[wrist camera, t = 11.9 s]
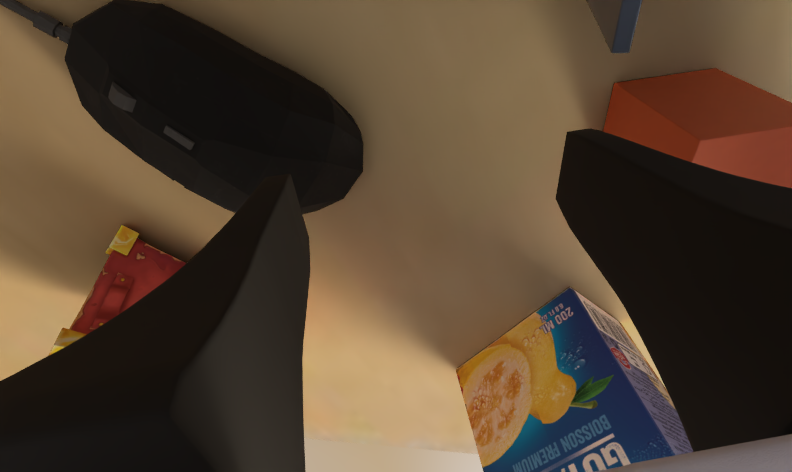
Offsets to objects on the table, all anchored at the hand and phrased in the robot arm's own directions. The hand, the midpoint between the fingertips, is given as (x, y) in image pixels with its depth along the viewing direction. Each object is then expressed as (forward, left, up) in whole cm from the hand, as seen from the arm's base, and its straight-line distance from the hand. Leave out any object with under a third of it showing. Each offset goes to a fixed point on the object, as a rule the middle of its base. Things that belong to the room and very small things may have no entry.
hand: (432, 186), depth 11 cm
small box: (-13, +4, -9) cm, 16 cm away
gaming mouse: (+8, 0, -10) cm, 12 cm away
